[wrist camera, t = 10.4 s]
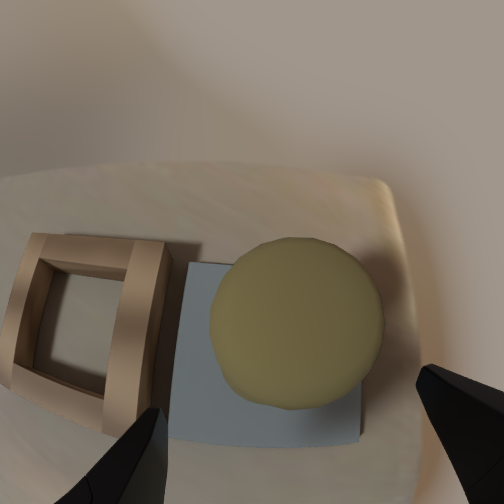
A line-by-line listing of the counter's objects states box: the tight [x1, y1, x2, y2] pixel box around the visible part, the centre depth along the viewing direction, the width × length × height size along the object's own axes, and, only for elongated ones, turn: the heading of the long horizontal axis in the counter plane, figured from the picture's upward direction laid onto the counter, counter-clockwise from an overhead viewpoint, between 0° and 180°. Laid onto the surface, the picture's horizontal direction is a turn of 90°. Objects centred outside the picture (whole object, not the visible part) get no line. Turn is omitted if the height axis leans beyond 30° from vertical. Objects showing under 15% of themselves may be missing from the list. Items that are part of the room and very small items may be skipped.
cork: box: [209, 237, 385, 410], centre depth 11 cm, size 6×6×11 cm
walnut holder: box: [0, 233, 173, 438], centre depth 16 cm, size 13×13×2 cm
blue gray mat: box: [168, 262, 362, 448], centre depth 16 cm, size 12×12×1 cm
